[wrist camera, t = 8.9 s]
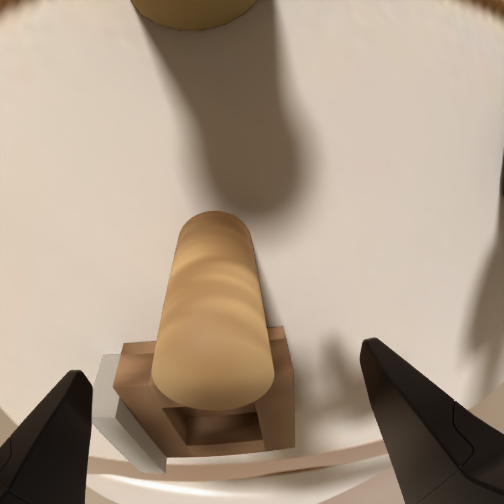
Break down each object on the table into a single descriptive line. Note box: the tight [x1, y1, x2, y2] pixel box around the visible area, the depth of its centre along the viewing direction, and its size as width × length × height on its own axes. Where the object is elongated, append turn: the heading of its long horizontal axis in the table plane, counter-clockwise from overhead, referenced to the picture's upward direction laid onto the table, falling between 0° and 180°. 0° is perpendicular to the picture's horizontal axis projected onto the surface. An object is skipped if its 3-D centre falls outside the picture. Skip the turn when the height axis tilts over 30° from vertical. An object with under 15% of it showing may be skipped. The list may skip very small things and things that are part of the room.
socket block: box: [113, 326, 295, 457], centre depth 20 cm, size 10×10×4 cm
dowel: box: [152, 211, 274, 411], centre depth 12 cm, size 4×4×8 cm
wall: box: [92, 354, 167, 474], centre depth 19 cm, size 2×9×5 cm, turn 7°
